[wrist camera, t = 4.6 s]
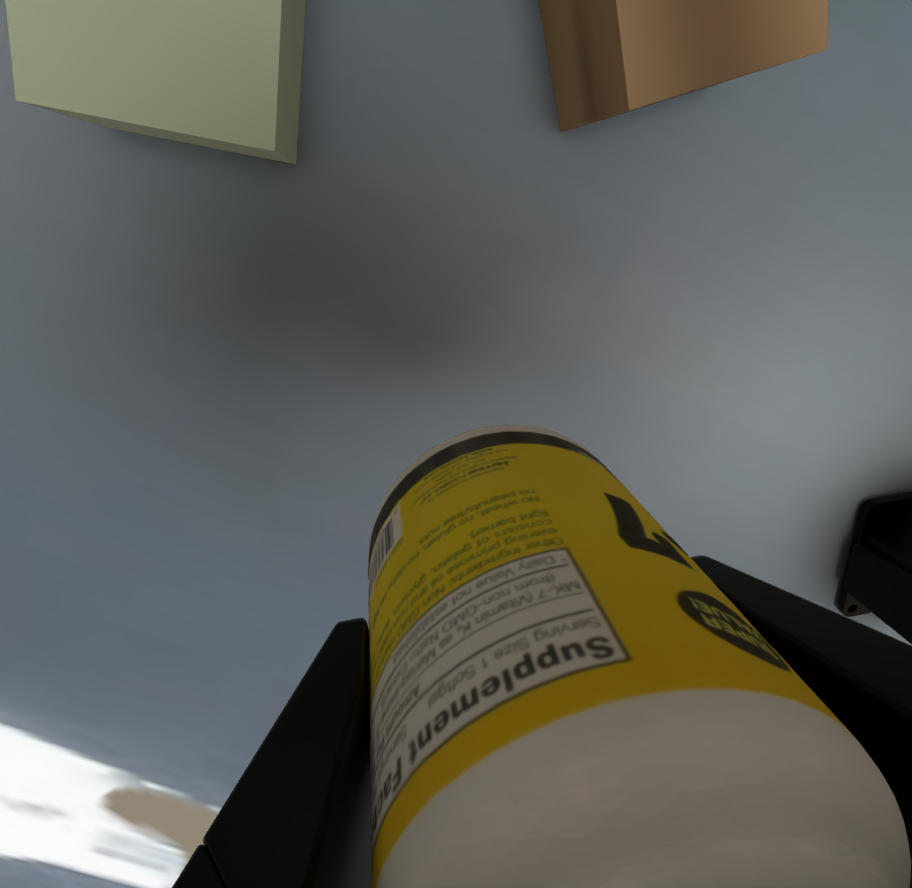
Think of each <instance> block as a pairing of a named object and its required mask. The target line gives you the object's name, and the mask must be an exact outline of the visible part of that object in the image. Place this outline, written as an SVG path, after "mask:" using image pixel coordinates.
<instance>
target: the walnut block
mask: <svg viewBox="0 0 912 888" xmlns="http://www.w3.org/2000/svg"><path fill="white" fill-rule="evenodd" d="M538 2H539V8H540V13H541V19H542V25H543V31H544V37H545V43H546V49H547V55H548V61H549V66H550V72H551V78H552V84H553V90H554V96H555V102H556V108H557V113H558V119H559V125H560V131H561V132H563V131H567V130H570V129H573V128H576V127H580V126H583V125H586V124H589V123H593V122H596V121H599V120H602V119H606V118H609V117H612V116H615V115H619V114H622V113H625V112H628V111H632V110H635V109H638V108H641V107H645V106H648V105H651V104H654V103H658V102H661V101H664V100H667V99H670V98H674V97H677V96H680V95H683V94H687V93H690V92H693V91H696V90H700V89H703V88H706V87H709V86H713V85H716V84H719V83H722V82H725V81H728V80H732V79H735V78H738V77H741V76H744V75H747V74H751V73H754V72H757V71H760V70H763V69H767V68H770V67H773V66H776V65H779V64H782V63H786V62H789V61H792V60H795V59H798V58H801V57H805V56H808V55H811V54H814V53H817V52H820V51H824V50H827V40H828V0H538Z"/></svg>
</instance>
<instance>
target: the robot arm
mask: <svg viewBox="0 0 912 888" xmlns="http://www.w3.org/2000/svg"><path fill="white" fill-rule="evenodd" d="M690 558H691V559H692V560H693V561H694V562H695V563H696V564H697V565H698V567H699V568H700V569H701V570H702V571H703V572H704V573H705V574H706V575H707V576H708V577H709V578H710V579H711V580H712V582H713V583H714V584H715V585H716V586H717V588H718V589H719V590H720V591H721V592H722V593H723V594H724V595H725V596H726V597H727V598H728V599H729V600H730V601H731V602H732V603H733V604H734V605H735V607H736V608H737V609H738V610H739V611H740V612H741V613H742V614H743V616H744V617H745V618H746V619H747V620H748V621H749V622H750V624H751V625H752V626H753V627H754V628H755V629H756V630H757V631H758V632H759V634H760V635H761V636H762V637H763V638H764V639H765V640H766V641H767V642H768V643H769V644H770V645H771V646H772V647H773V648H774V649H775V650H776V651H777V653H778V654H779V655H780V656H781V657H782V658H783V659H784V660H785V661H786V663H787V664H788V665H789V666H790V667H791V668H792V669H793V670H794V671H795V673H796V674H797V675H798V676H799V677H800V678H801V679H802V680H803V681H804V682H805V683H806V684H807V686H808V687H809V688H810V689H811V690H812V691H813V692H814V693H815V694H816V695H817V696H818V698H819V699H820V700H821V701H822V702H823V703H824V704H825V705H826V706H827V707H828V708H829V709H830V711H831V712H832V713H833V714H834V715H835V716H836V717H837V718H838V719H839V720H840V721H841V723H842V724H843V725H844V726H845V727H846V728H847V729H848V730H849V731H850V732H851V733H852V735H853V736H854V737H855V738H856V739H857V741H858V742H859V743H860V744H861V746H862V747H863V748H864V750H865V751H866V752H867V754H868V755H869V756H870V758H871V759H872V760H873V762H874V763H875V764H876V766H877V767H878V768H879V770H880V772H881V773H882V775H883V777H884V778H885V780H886V782H887V783H888V785H889V787H890V789H891V791H892V792H893V794H894V796H895V799H896V801H897V804H898V806H899V809H900V812H901V814H902V817H903V821H904V824H905V829H906V833H907V838H908V843H909V850H910V857H911V877H910V887H909V888H912V646H911V645H909V644H906V643H904V642H902V641H899V640H897V639H895V638H893V637H890V636H888V635H886V634H883V633H881V632H879V631H876V630H874V629H872V628H870V627H867V626H865V625H863V624H860V623H858V622H856V621H854V620H851V619H849V618H847V617H851V616H856V615H861V614H866V613H871V612H872V613H873V614H875V615H876V616H877V617H878V618H880V619H881V620H882V621H883V622H885V623H886V624H887V625H888V626H890V627H891V628H892V629H893V630H895V631H896V632H897V633H898V634H899V635H901V636H902V637H903V638H904V639H906V640H907V641H908V642H909V643H911V644H912V492H908V493H903V494H897V495H892V496H886V497H881V498H875V499H871V500H868V501H866V502H865V503H864V504H863V505H862V506H861V508H860V510H859V514H858V519H857V523H856V527H855V531H854V535H853V540H852V544H851V548H850V552H849V557H848V561H847V565H846V569H845V574H844V578H843V582H842V586H841V591H840V595H839V599H838V603H837V609H838V610H839V611H840V612H841V613H842V614H843V615H845V616H847V617H844V616H842V615H840V614H837V613H835V612H833V611H831V610H828V609H826V608H824V607H821V606H819V605H817V604H815V603H812V602H810V601H808V600H805V599H803V598H801V597H798V596H796V595H794V594H792V593H789V592H787V591H785V590H782V589H780V588H778V587H776V586H773V585H771V584H769V583H766V582H764V581H762V580H759V579H757V578H755V577H753V576H750V575H748V574H746V573H743V572H741V571H739V570H736V569H734V568H732V567H730V566H727V565H725V564H723V563H720V562H718V561H716V560H714V559H711V558H709V557H706V556H694V557H690ZM203 843H204V845H205V846H204V845H199V846H198V847H197V848H196V850H195V852H194V853H193V855H192V857H191V858H190V860H189V861H188V863H187V865H186V866H185V868H184V869H183V871H182V873H181V874H180V876H179V878H178V879H177V881H176V882H175V884H174V885H173V887H172V888H371V873H372V869H371V783H370V692H369V629H368V625H367V622H366V620H365V619H364V618H357V619H352V620H346V621H341V622H339V623H337V624H336V625H335V627H334V628H333V630H332V632H331V633H330V635H329V637H328V638H327V640H326V641H325V643H324V645H323V646H322V648H321V649H320V651H319V653H318V654H317V656H316V657H315V659H314V661H313V662H312V664H311V666H310V667H309V669H308V670H307V672H306V674H305V675H304V677H303V678H302V680H301V682H300V683H299V685H298V686H297V688H296V690H295V691H294V693H293V694H292V696H291V698H290V699H289V701H288V703H287V704H286V706H285V707H284V709H283V711H282V712H281V714H280V715H279V717H278V719H277V720H276V722H275V723H274V725H273V727H272V728H271V730H270V732H269V733H268V735H267V736H266V738H265V740H264V741H263V743H262V744H261V746H260V748H259V749H258V751H257V752H256V754H255V756H254V757H253V759H252V761H251V762H250V764H249V765H248V767H247V769H246V770H245V772H244V773H243V775H242V777H241V778H240V780H239V781H238V783H237V785H236V786H235V788H234V790H233V791H232V793H231V794H230V796H229V798H228V799H227V801H226V802H225V804H224V806H223V807H222V809H221V810H220V812H219V814H218V815H217V817H216V818H215V820H214V822H213V823H212V825H211V827H210V828H209V830H208V831H207V833H206V835H205V836H204V838H203Z"/></svg>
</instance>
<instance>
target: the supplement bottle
mask: <svg viewBox="0 0 912 888" xmlns="http://www.w3.org/2000/svg"><path fill="white" fill-rule="evenodd" d="M368 578H369V603H368V606H369V692H370V783H371V869H372V873H371V888H909V887H910V877H911V857H910V850H909V843H908V838H907V833H906V829H905V824H904V821H903V817H902V814H901V812H900V809H899V806H898V804H897V801H896V799H895V796H894V794H893V792H892V791H891V789H890V787H889V785H888V783H887V782H886V780H885V778H884V777H883V775H882V773H881V772H880V770H879V768H878V767H877V766H876V764H875V763H874V762H873V760H872V759H871V758H870V756H869V755H868V754H867V752H866V751H865V750H864V748H863V747H862V746H861V744H860V743H859V742H858V741H857V739H856V738H855V737H854V736H853V735H852V733H851V732H850V731H849V730H848V729H847V728H846V727H845V726H844V725H843V724H842V723H841V721H840V720H839V719H838V718H837V717H836V716H835V715H834V714H833V713H832V712H831V711H830V709H829V708H828V707H827V706H826V705H825V704H824V703H823V702H822V701H821V700H820V699H819V698H818V696H817V695H816V694H815V693H814V692H813V691H812V690H811V689H810V688H809V687H808V686H807V684H806V683H805V682H804V681H803V680H802V679H801V678H800V677H799V676H798V675H797V674H796V673H795V671H794V670H793V669H792V668H791V667H790V666H789V665H788V664H787V663H786V661H785V660H784V659H783V658H782V657H781V656H780V655H779V654H778V653H777V651H776V650H775V649H774V648H773V647H772V646H771V645H770V644H769V643H768V642H767V641H766V640H765V639H764V638H763V637H762V636H761V635H760V634H759V632H758V631H757V630H756V629H755V628H754V627H753V626H752V625H751V624H750V622H749V621H748V620H747V619H746V618H745V617H744V616H743V614H742V613H741V612H740V611H739V610H738V609H737V608H736V607H735V605H734V604H733V603H732V602H731V601H730V600H729V599H728V598H727V597H726V596H725V595H724V594H723V593H722V592H721V591H720V590H719V589H718V588H717V586H716V585H715V584H714V583H713V582H712V580H711V579H710V578H709V577H708V576H707V575H706V574H705V573H704V572H703V571H702V570H701V569H700V568H699V567H698V565H697V564H696V563H695V562H694V561H693V560H692V559H691V558H690V557H689V556H688V555H687V554H686V553H685V551H684V550H683V549H682V548H681V547H680V546H679V545H678V544H677V543H676V542H675V541H674V540H673V539H672V538H671V537H670V536H669V535H668V534H667V533H666V531H665V530H664V529H663V528H662V527H661V526H660V525H659V524H658V522H657V521H656V520H655V519H654V518H653V517H652V516H651V515H650V514H649V513H648V512H647V510H646V509H645V508H644V507H643V506H642V505H641V504H640V503H639V502H638V501H637V500H636V499H635V497H634V496H633V495H632V494H631V493H630V492H629V491H628V490H627V489H626V487H625V486H624V485H623V484H622V483H621V482H620V481H619V480H618V479H617V478H616V477H615V476H614V475H613V474H612V473H611V472H610V471H609V470H608V469H607V468H606V467H605V466H604V465H603V464H602V463H601V462H600V461H599V460H598V459H597V458H596V457H595V456H594V455H593V454H592V453H591V452H589V451H588V450H587V449H585V448H584V447H582V446H581V445H579V444H578V443H576V442H574V441H572V440H571V439H569V438H567V437H564V436H562V435H560V434H558V433H555V432H552V431H549V430H546V429H542V428H537V427H530V426H521V425H501V426H492V427H486V428H481V429H476V430H472V431H469V432H465V433H463V434H460V435H457V436H455V437H452V438H450V439H448V440H446V441H444V442H442V443H440V444H439V445H437V446H435V447H434V448H432V449H430V450H429V451H427V452H426V453H425V454H423V455H422V456H421V457H419V458H418V459H417V460H416V461H415V462H413V463H412V464H411V465H410V466H409V467H408V468H407V469H406V470H405V471H404V472H403V473H402V474H401V475H400V476H399V477H398V479H397V480H396V481H395V482H394V484H393V485H392V486H391V488H390V489H389V491H388V492H387V494H386V496H385V497H384V499H383V501H382V503H381V505H380V507H379V509H378V511H377V514H376V516H375V519H374V523H373V527H372V531H371V536H370V543H369V568H368Z"/></svg>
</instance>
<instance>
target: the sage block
mask: <svg viewBox="0 0 912 888" xmlns="http://www.w3.org/2000/svg"><path fill="white" fill-rule="evenodd" d="M5 2H6V12H7V21H8V31H9V40H10V50H11V59H12V69H13V78H14V88H15V97H16V101H19V102H23V103H26V104H30V105H33V106H36V107H40V108H43V109H47V110H50V111H54V112H57V113H60V114H64V115H67V116H71V117H74V118H77V119H81V120H84V121H88V122H91V123H94V124H98V125H101V126H105V127H108V128H111V129H116V130H121V131H127V132H132V133H137V134H142V135H147V136H152V137H157V138H163V139H168V140H173V141H178V142H183V143H188V144H194V145H199V146H204V147H209V148H214V149H219V150H225V151H230V152H235V153H240V154H245V155H250V156H256V157H261V158H266V159H271V160H276V161H281V162H287V163H292V164H296V161H297V144H298V127H299V109H300V92H301V75H302V58H303V41H304V23H305V6H306V0H5Z"/></svg>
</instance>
